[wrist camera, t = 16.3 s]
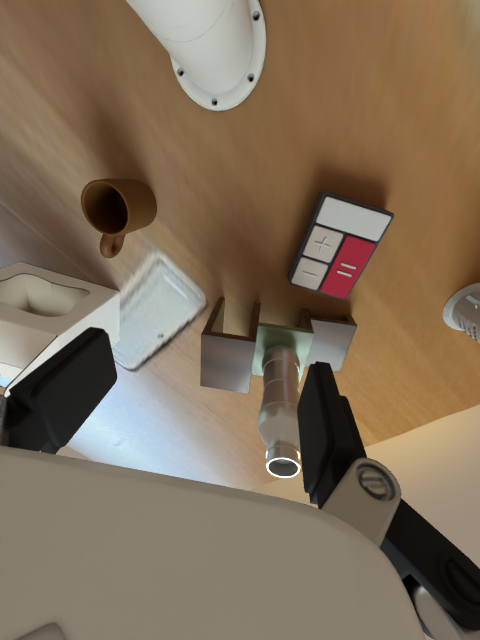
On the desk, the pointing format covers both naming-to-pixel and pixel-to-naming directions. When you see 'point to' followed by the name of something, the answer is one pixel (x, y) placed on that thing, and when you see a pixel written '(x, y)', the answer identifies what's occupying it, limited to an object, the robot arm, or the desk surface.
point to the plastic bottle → (280, 410)
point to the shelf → (268, 346)
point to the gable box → (48, 316)
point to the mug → (117, 210)
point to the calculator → (337, 244)
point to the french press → (464, 310)
